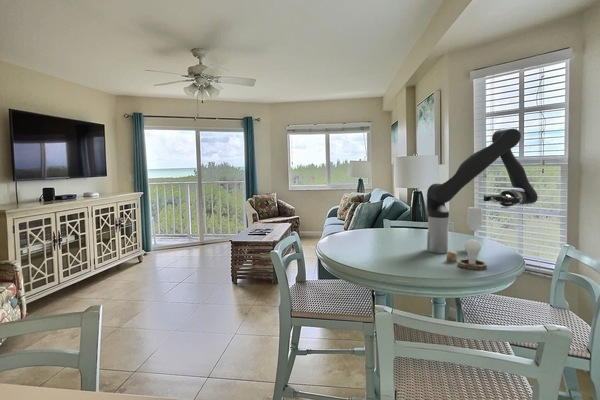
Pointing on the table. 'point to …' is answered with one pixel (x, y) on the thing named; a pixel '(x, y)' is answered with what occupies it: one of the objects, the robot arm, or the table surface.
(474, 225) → the cup
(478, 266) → the holder ring
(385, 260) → the table surface
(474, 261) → the lightbulb
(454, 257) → the oak stub
